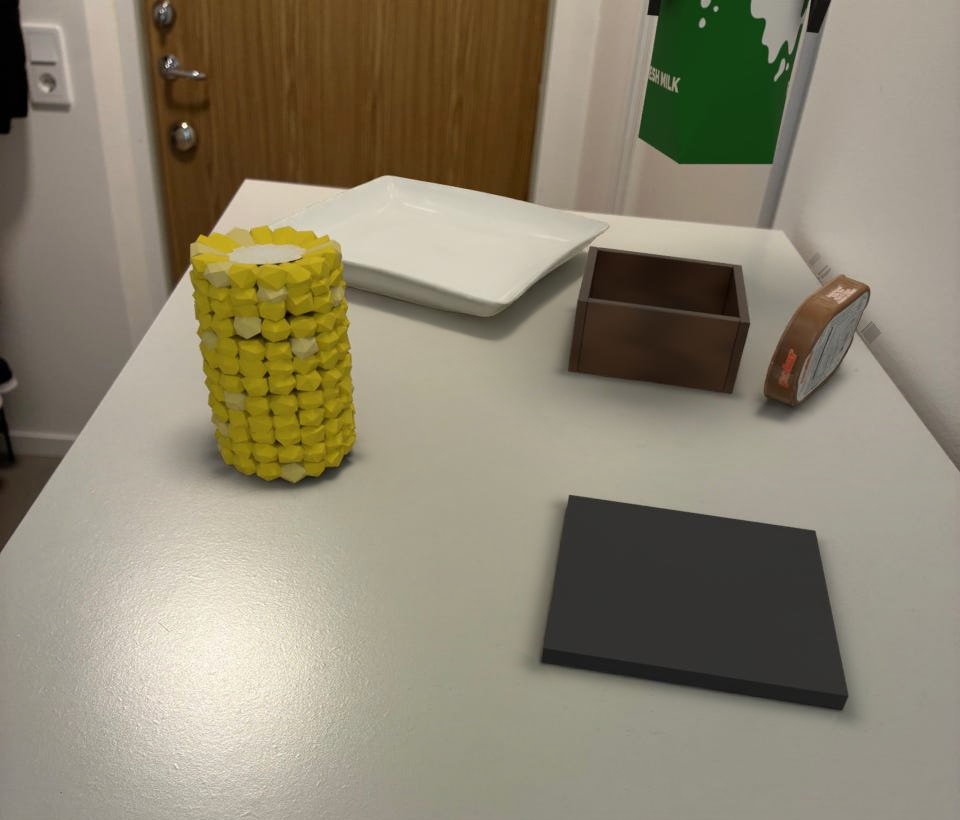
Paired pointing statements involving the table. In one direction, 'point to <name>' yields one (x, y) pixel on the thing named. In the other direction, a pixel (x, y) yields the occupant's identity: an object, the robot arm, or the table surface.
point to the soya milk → (720, 79)
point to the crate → (660, 319)
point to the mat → (694, 602)
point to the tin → (816, 340)
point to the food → (275, 349)
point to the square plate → (444, 242)
